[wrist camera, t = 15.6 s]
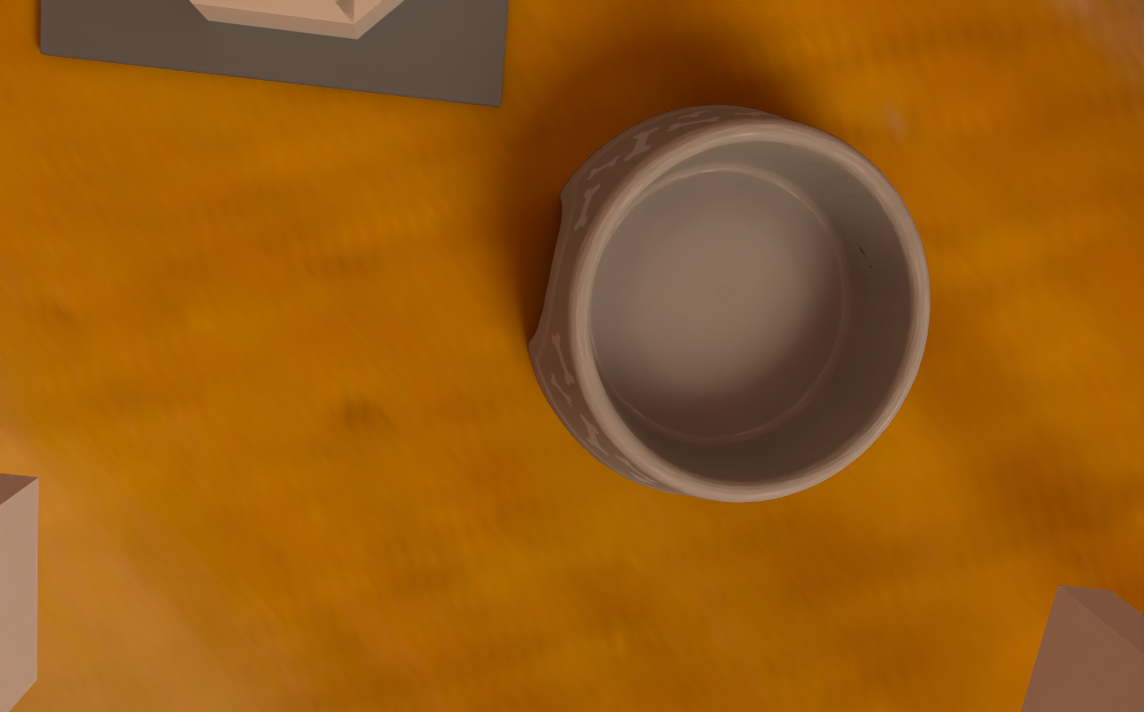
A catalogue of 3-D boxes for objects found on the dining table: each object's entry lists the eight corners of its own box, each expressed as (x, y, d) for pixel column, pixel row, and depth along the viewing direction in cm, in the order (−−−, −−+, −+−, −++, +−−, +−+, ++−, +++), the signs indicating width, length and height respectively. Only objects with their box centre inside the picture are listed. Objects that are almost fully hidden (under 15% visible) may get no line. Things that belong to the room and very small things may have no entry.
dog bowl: (921, 153, 43) (993, 142, 37) (832, 517, 45) (889, 555, 39) (581, 65, 39) (608, 39, 34) (499, 464, 41) (514, 499, 36)
